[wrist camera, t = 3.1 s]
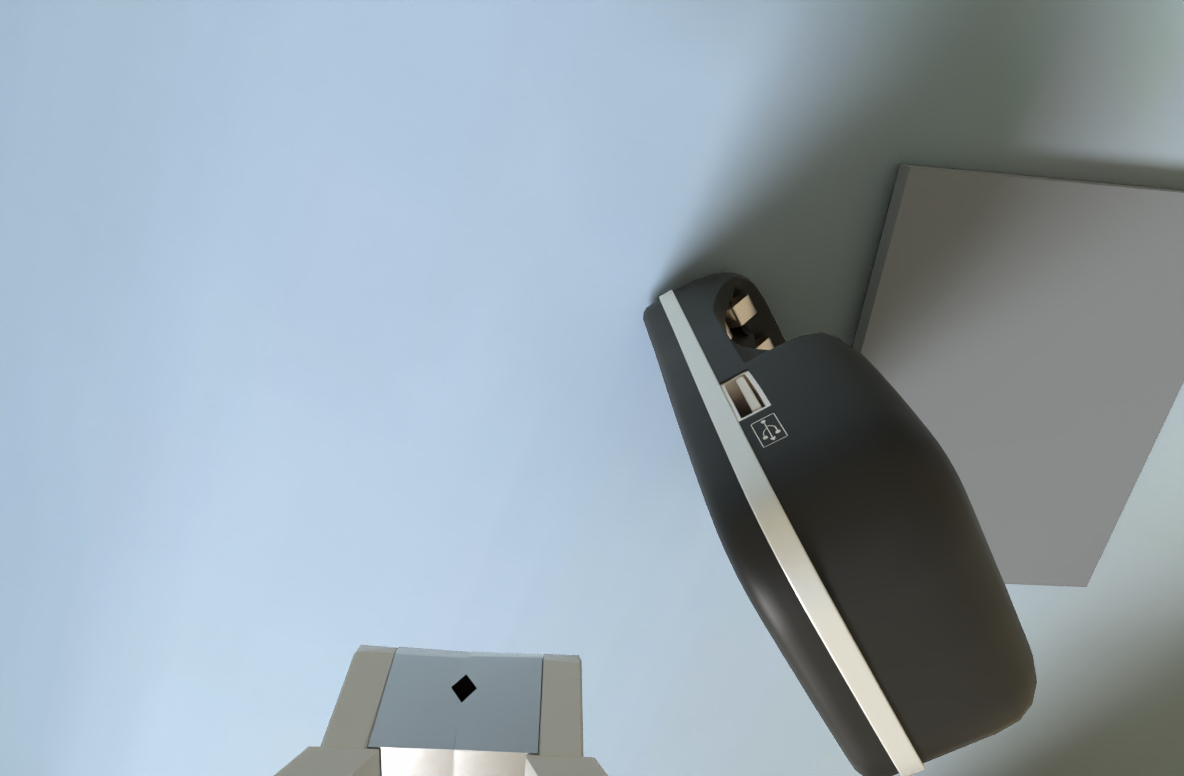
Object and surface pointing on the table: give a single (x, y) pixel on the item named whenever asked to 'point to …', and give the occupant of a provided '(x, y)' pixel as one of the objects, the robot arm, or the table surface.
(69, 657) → the table surface
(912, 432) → the battery charger
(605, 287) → the table surface
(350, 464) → the table surface
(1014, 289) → the mat
